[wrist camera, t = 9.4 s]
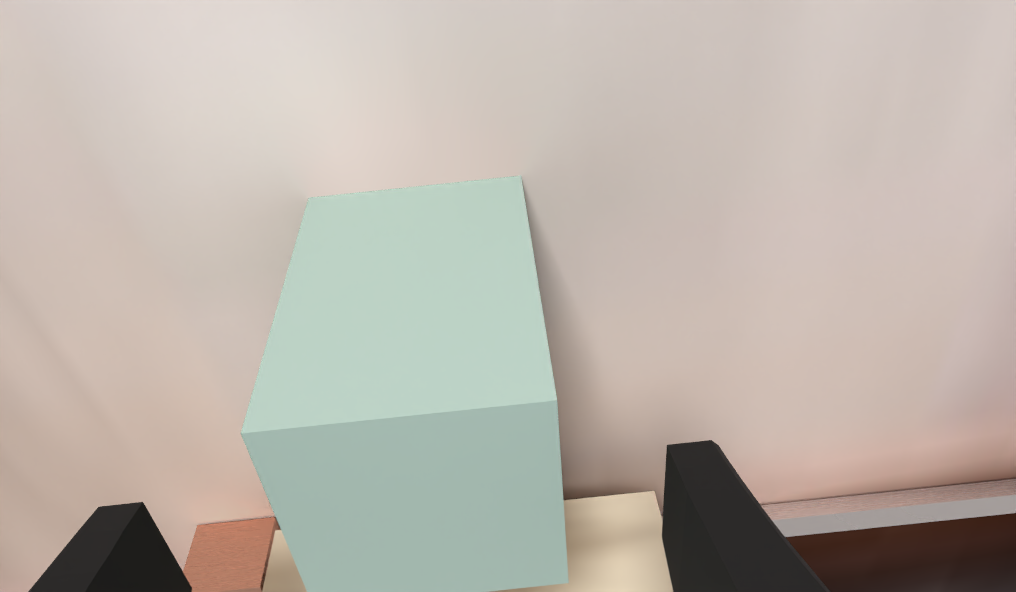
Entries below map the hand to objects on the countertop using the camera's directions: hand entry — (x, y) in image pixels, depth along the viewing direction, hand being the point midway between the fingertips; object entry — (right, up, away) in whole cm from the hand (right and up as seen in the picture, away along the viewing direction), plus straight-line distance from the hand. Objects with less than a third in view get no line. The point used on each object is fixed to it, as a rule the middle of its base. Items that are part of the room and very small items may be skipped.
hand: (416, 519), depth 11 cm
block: (0, +4, +5) cm, 6 cm away
